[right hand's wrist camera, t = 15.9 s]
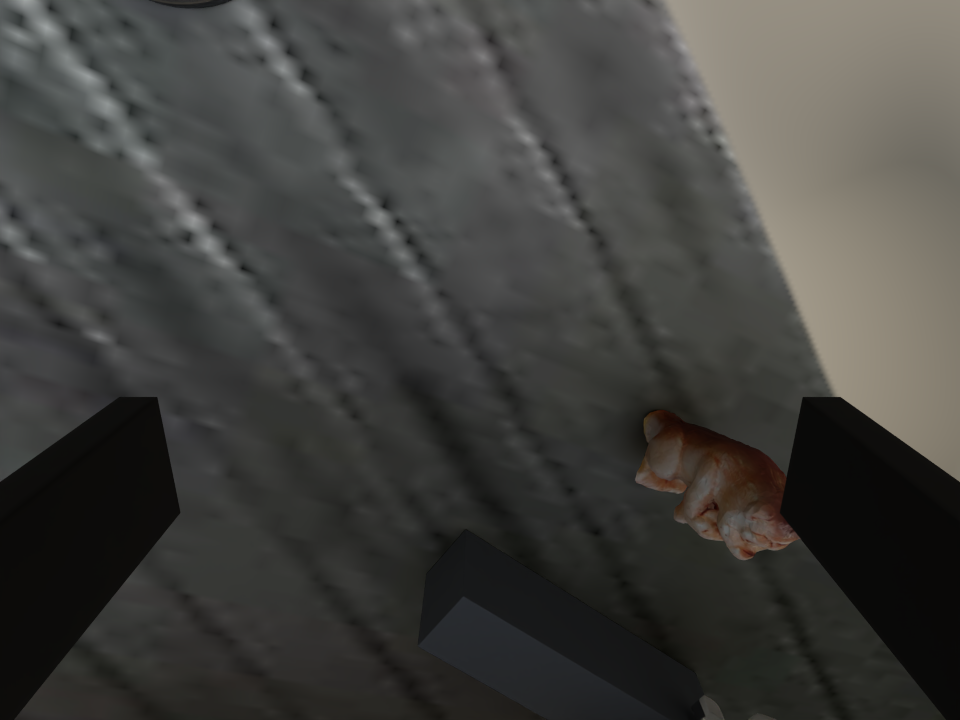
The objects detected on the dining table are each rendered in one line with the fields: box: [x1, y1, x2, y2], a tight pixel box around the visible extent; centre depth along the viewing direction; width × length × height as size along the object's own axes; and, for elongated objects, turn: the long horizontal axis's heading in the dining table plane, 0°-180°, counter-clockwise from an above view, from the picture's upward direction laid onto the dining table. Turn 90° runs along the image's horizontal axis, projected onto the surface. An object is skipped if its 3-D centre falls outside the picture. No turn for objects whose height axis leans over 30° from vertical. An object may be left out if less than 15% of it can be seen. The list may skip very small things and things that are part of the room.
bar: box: [418, 530, 704, 720], centre depth 49 cm, size 26×6×8 cm, turn 53°
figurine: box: [635, 410, 800, 560], centre depth 39 cm, size 6×8×15 cm
